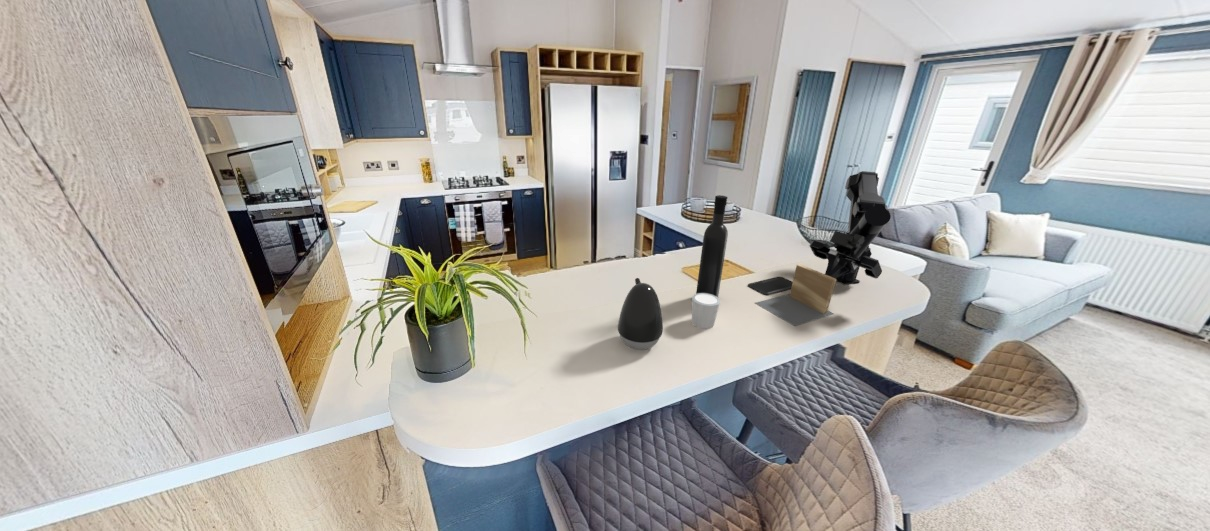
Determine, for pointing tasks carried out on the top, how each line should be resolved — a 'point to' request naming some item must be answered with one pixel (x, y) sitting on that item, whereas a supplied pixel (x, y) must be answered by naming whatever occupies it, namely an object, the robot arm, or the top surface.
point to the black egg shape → (640, 317)
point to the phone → (771, 285)
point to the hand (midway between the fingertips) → (825, 280)
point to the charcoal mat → (791, 310)
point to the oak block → (812, 288)
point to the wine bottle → (713, 251)
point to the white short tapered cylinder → (704, 310)
